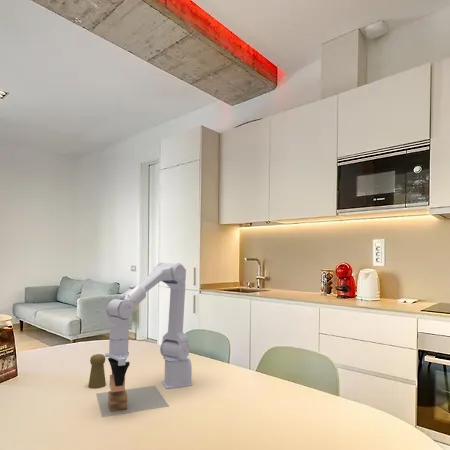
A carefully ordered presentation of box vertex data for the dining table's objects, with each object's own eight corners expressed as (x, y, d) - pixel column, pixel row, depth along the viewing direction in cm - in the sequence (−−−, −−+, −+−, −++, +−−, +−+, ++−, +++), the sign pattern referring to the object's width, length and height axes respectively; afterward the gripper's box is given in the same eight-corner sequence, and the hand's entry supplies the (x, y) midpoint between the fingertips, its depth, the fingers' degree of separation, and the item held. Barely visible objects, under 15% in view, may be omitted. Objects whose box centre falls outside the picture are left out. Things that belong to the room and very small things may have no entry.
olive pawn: (100, 389, 133) (101, 357, 134) (84, 388, 135) (85, 356, 135) (109, 384, 139) (109, 353, 140) (93, 382, 141) (94, 352, 141)
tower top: (124, 396, 121) (124, 389, 121) (127, 402, 116) (127, 394, 117) (108, 398, 119) (108, 391, 119) (110, 404, 114) (110, 397, 115)
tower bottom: (124, 403, 121) (124, 396, 121) (127, 409, 116) (127, 402, 116) (108, 406, 119) (108, 398, 119) (110, 412, 114) (110, 404, 114)
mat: (154, 386, 137) (154, 385, 137) (169, 406, 119) (169, 406, 119) (96, 394, 129) (96, 393, 129) (102, 417, 111) (102, 416, 111)
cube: (122, 386, 120) (123, 373, 121) (124, 390, 117) (125, 377, 117) (109, 387, 119) (109, 374, 119) (111, 392, 115) (111, 378, 115)
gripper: (103, 334, 124) (102, 377, 123) (108, 344, 111) (107, 393, 110) (125, 333, 127) (124, 375, 126) (133, 342, 114) (132, 389, 113)
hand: (118, 383), depth 118 cm, fingers closed on cube, 4 cm apart
